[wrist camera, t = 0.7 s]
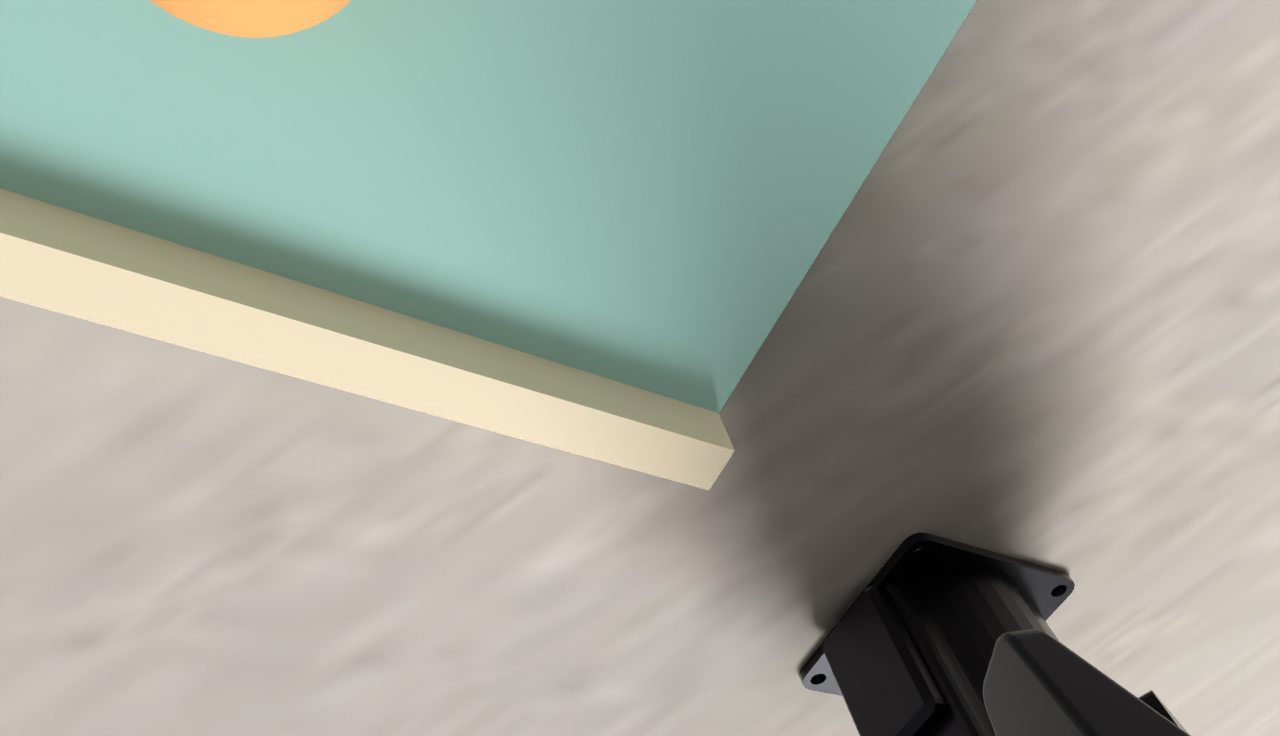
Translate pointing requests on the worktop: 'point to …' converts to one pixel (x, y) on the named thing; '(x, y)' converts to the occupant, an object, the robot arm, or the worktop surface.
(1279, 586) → the worktop surface
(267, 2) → the ball
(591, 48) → the lane
